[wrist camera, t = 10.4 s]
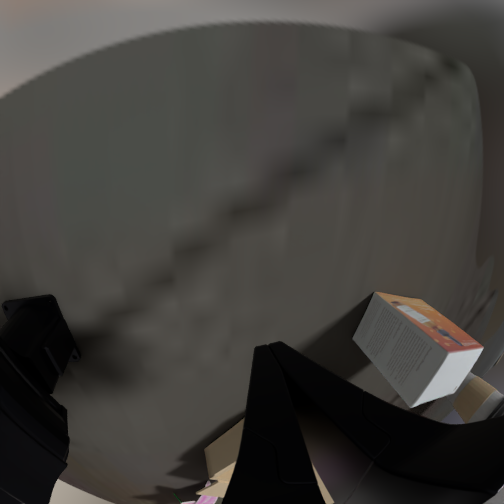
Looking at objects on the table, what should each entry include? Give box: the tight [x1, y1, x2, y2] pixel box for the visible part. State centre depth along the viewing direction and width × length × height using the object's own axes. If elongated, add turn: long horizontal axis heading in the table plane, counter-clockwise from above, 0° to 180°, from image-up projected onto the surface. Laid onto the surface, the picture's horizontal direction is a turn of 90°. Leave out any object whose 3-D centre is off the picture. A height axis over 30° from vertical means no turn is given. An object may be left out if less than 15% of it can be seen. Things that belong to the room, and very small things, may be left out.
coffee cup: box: [446, 372, 504, 424], centre depth 31 cm, size 9×9×15 cm
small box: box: [353, 292, 483, 408], centre depth 21 cm, size 8×6×10 cm
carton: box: [196, 418, 312, 498], centre depth 26 cm, size 11×22×5 cm, turn 140°
